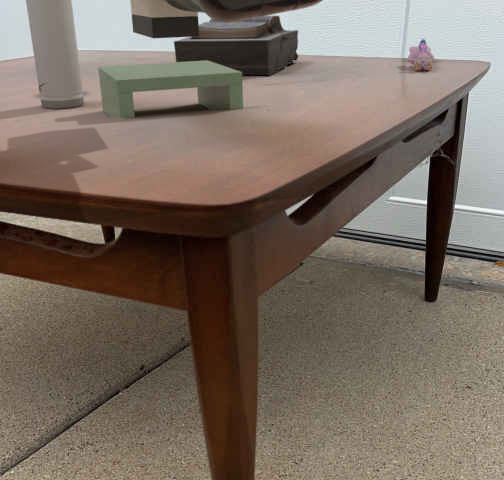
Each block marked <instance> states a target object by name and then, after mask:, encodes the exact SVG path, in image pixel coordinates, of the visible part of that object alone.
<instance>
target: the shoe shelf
mask: <svg viewBox="0 0 504 480" xmlns="http://www.w3.org/2000/svg"><path fill="white" fill-rule="evenodd" d="M97 71H98V78H99V87H100V96H101V105H102V111H103V113H105V114H106V115H107V117H108V118H110V119H116V118H119V119H129V118H135V117H136V116H135V106H134V105H135V104H134V95H133V93H139V92H141V93H142V92H152V91H154V92H155V91H168V90H180V89H195V88H196V89H197V103H198V104H199V105H201V106H203V107H204V108H207V109H208V110H210V111H212V110H213V111H214V110H226V109H228V110H237V109H239V110H240V109H243V108H244V92H243V91H244V90H243V88H244V87H243V75H242V72H240V71H237V70H234V69H231V68H228V67H225V66H222V65H219V64H217V63H214V62H211V61H208V60H205V61H189V62H176V61H175V62H174V61H173V62H159V63H156V62H155V63H140V64H125V65H124V64H123V65H108V66H107V65H105V66H98V69H97Z"/></svg>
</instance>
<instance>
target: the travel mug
mask: <svg viewBox="0 0 504 480" xmlns="http://www.w3.org/2000/svg"><path fill="white" fill-rule="evenodd" d="M25 3H26V9H27V10H26V11H27V18H28V24H29V30H30V38H31V45H32V53H33V58H34V59H33V60H34V64H35V71H36V78H37V86H38V91H39V95H40V97H39V99H40V105H41V107H42V108H44V109H51V110H53V109H54V110H63V109H64V110H65V109H73V108H78V107H81V106H83V105H84V103H85V99H84V94H83V92H84V91H83V84H82V83H83V82H82V75H81V74H82V73H81V67H80V59H79V51H78V43H77V34H76V27H75V19H74V9H73V2H72V0H25Z"/></svg>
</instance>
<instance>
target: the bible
mask: <svg viewBox="0 0 504 480" xmlns="http://www.w3.org/2000/svg"><path fill="white" fill-rule="evenodd" d="M298 37H299V30H298V29H296V30H295V29H293V30H287V29H284V27H283V26H282V23H281V17H280V15H267V16H262V17H257V18H252V19H247V20H242V21H237V22H230V23H224V22H218V21H215V20H213V19H212V18H209V21H204V22H201V23H200V24H199V36H196V37H183V38H181V39H179V40H174V41H173V45H174V53H175V54H174V56H175V62H189V61H205V60H208V61H211V62H214V63H217V64H219V65H222V66H225V67H228V68H231V69H234V70H237V71H240V72H242V76H245V75H246V76H247V75H249V76H256V75H257V76H272V75H273V74H275V73H277V72H279V71H281V70H283V69H282V68H284V67H285V66H286V67H287V66H289V65H288V64H291V63H293V62H294V61H293V60H296V61H298V59H299V54H298V53H297V50H298V47H299V38H298ZM293 64H294V63H293ZM291 65H292V64H291ZM286 67H285V68H286ZM285 68H284V69H285ZM280 69H281V70H280ZM278 70H279V71H278ZM276 71H277V72H276Z"/></svg>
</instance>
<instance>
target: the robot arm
mask: <svg viewBox="0 0 504 480" xmlns="http://www.w3.org/2000/svg"><path fill="white" fill-rule="evenodd" d="M165 1H166V2H167V3H168V4H170V5H171V6H173V7H175V8H177V9H180V10H184V11H192V12H198V13H201V14H202V13H203V14H206V15H207V16H208V17H209V19H211V18H212V19H213V20H215V21H218V22H224V23H230V22H237V21H242V20H247V19H252V18H257V17H262V16H273V15H276V14H281V13H287V12H292V11H298V10H302V9H303V10H304V9H306V8H310V7H313V6H316V5H318V4H319V3H322V2H323V1H324V0H165Z"/></svg>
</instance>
